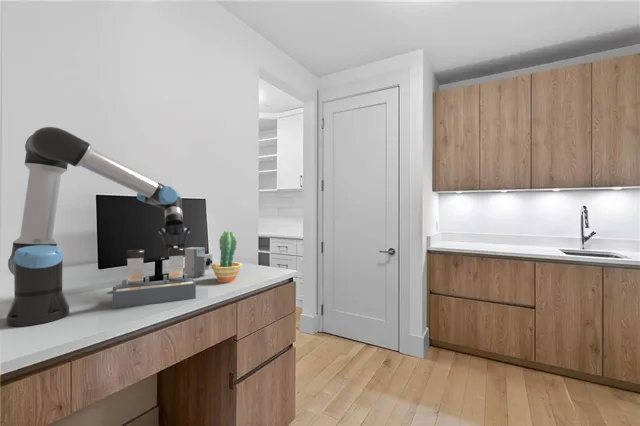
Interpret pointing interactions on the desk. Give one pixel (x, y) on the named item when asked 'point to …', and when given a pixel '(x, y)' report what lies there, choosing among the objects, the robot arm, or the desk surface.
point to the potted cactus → (227, 259)
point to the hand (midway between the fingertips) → (176, 260)
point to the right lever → (176, 264)
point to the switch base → (153, 292)
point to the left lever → (135, 266)
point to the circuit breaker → (196, 261)
